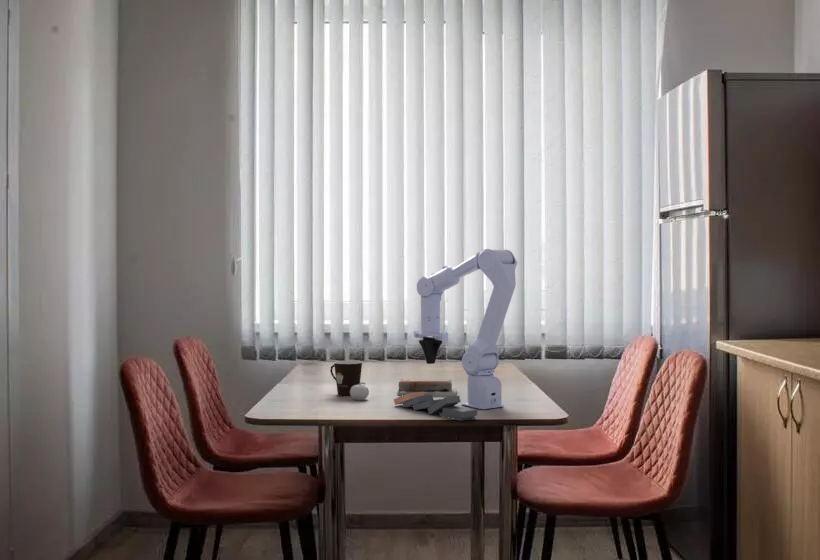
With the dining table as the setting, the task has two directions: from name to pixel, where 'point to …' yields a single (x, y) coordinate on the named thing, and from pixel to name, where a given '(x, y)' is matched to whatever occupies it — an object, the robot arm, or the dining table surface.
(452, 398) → the domino
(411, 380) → the packaged product
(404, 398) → the domino
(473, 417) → the domino
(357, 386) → the garlic
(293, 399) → the dining table surface
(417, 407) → the domino
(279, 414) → the dining table surface
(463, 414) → the domino
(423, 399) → the domino
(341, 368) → the coffee mug
